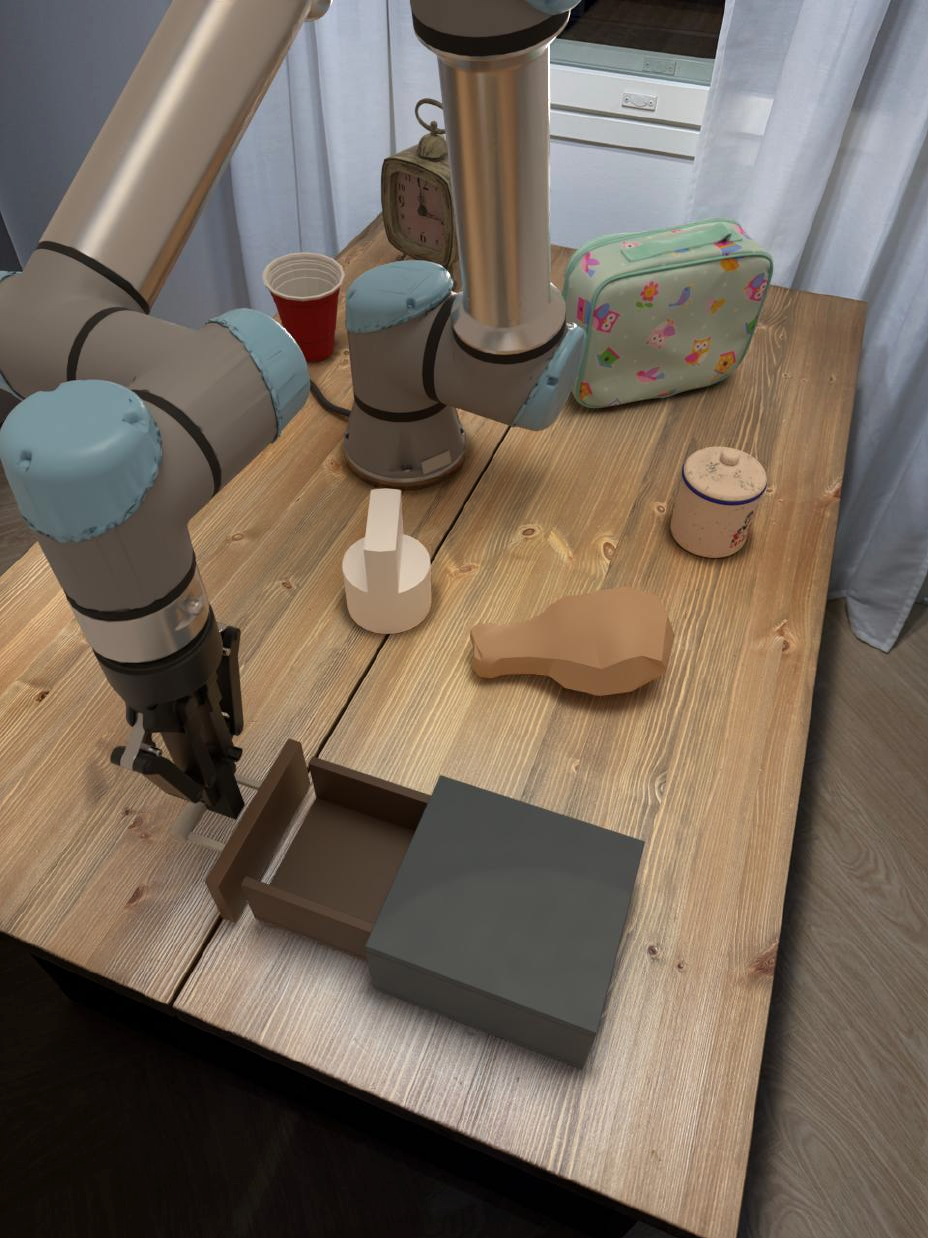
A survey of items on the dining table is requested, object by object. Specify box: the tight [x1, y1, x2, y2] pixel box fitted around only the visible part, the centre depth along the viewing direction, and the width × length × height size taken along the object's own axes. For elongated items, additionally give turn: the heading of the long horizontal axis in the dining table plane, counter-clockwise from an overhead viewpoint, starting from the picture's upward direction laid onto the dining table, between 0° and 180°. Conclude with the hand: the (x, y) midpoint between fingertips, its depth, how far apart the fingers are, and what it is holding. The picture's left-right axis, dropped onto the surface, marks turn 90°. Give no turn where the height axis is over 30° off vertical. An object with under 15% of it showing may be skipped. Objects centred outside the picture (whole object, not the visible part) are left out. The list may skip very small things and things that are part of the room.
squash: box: [469, 586, 675, 697], centre depth 87 cm, size 11×20×9 cm, turn 91°
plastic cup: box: [261, 251, 346, 363], centre depth 122 cm, size 11×11×12 cm
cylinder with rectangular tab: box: [341, 488, 432, 635], centre depth 91 cm, size 9×9×12 cm
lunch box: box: [561, 217, 774, 409], centre depth 114 cm, size 27×10×21 cm, turn 111°
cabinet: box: [365, 774, 646, 1070], centre depth 68 cm, size 17×15×9 cm
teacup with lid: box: [670, 446, 768, 559], centre depth 99 cm, size 12×9×12 cm
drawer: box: [168, 737, 432, 963], centre depth 72 cm, size 21×14×7 cm, turn 70°
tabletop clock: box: [380, 97, 460, 289], centre depth 133 cm, size 14×9×25 cm, turn 50°
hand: (226, 807), depth 73 cm, fingers closed
